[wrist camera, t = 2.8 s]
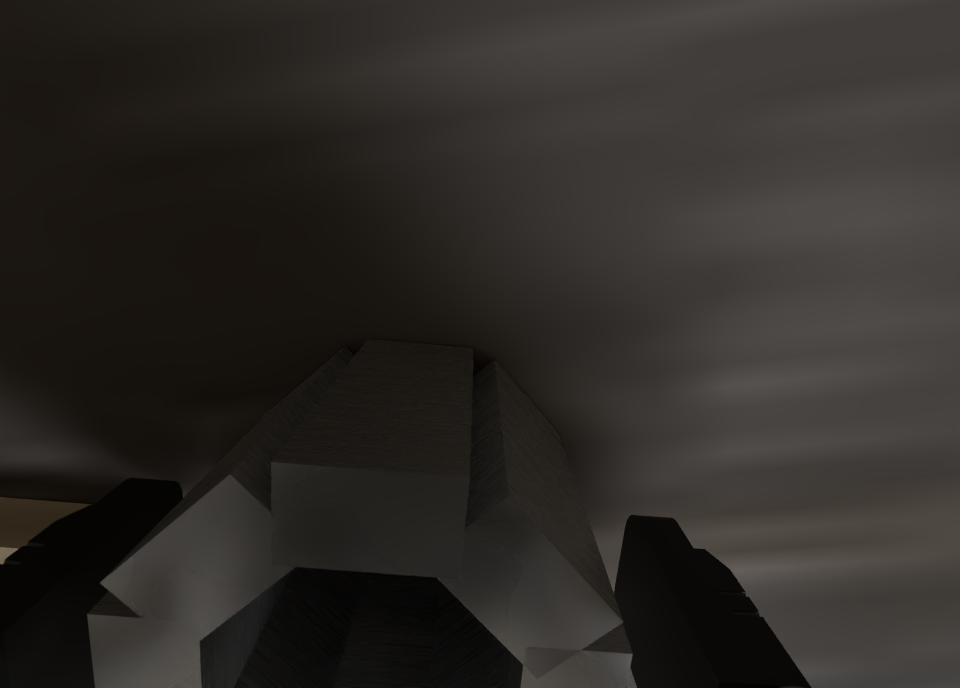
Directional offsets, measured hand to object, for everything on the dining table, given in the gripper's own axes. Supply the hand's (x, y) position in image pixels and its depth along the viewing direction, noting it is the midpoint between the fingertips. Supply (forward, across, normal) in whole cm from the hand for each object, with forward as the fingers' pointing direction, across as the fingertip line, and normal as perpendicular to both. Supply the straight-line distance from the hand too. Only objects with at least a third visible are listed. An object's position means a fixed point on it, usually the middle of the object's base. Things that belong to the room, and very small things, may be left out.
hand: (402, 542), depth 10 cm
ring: (+1, 0, 0) cm, 1 cm away
